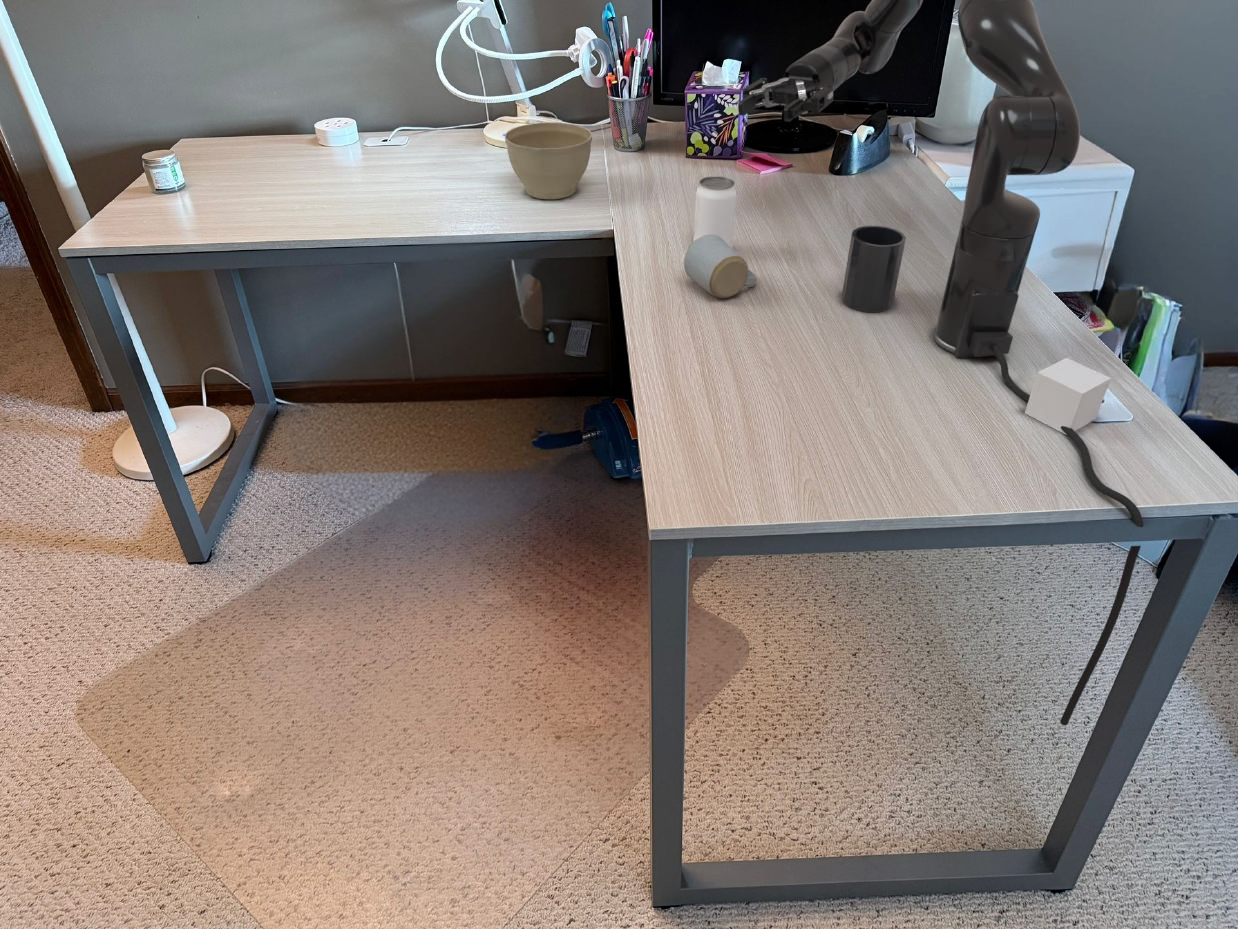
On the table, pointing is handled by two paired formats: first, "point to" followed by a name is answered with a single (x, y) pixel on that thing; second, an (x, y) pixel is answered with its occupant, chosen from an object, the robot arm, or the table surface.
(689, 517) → the table surface
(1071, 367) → the white cube
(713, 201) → the can
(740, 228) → the table surface
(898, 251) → the pen cup
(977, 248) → the robot arm
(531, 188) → the planter bowl
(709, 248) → the ceramic mug
